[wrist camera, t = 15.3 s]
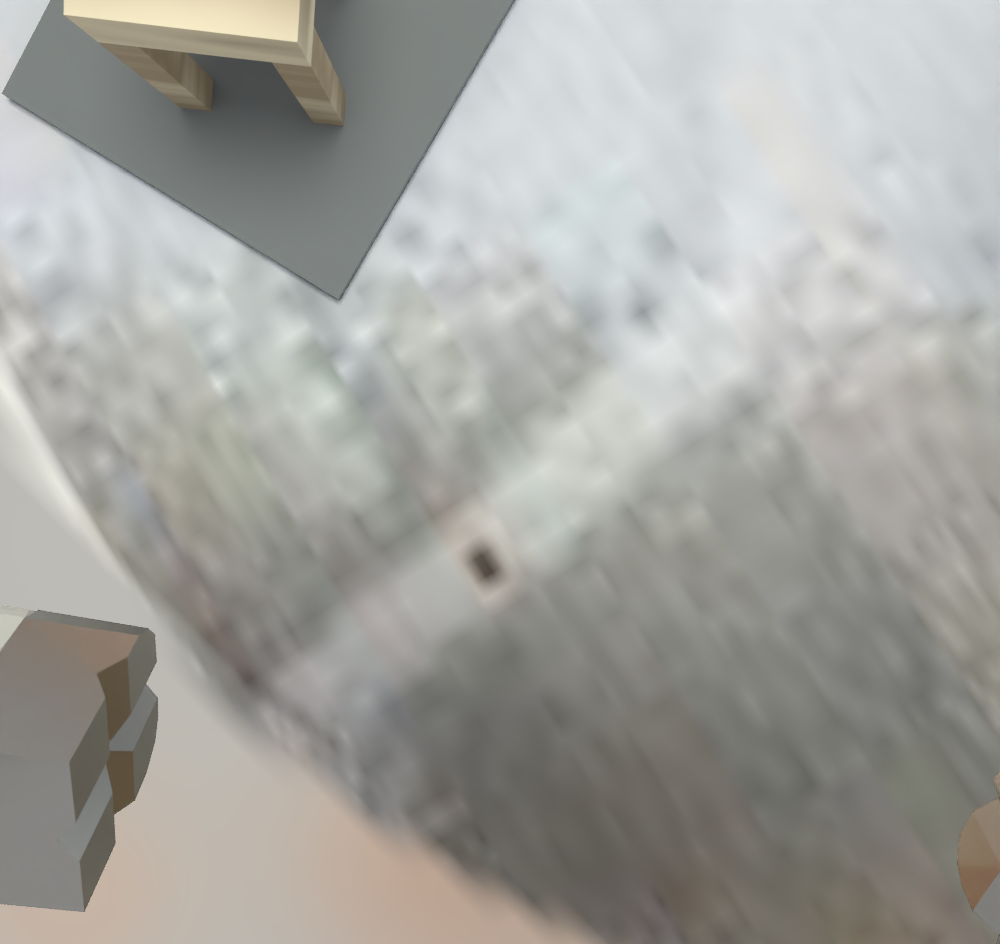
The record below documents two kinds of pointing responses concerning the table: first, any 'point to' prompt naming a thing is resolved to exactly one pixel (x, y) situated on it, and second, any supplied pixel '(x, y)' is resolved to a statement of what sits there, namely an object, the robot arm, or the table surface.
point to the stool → (215, 45)
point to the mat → (275, 124)
